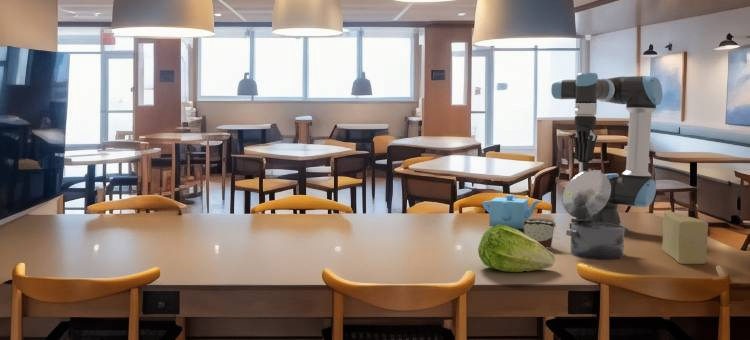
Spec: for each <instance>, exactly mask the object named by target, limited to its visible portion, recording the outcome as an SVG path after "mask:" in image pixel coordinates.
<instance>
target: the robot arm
mask: <svg viewBox="0 0 750 340" xmlns="http://www.w3.org/2000/svg"><path fill="white" fill-rule="evenodd" d="M550 88H551V90H550V92H551V96H552V98H554V99H555V100H575V101H574V103H575V106H574V109H575V110H574V114H575V116H574V126H575V127H577V128H576V132H575V133H572V138H573V143H574V144H573V145H574V146H573V147H574V157H575V160H576V161H577V162H578V174H580V173H582V172H584V171H588V170H589V163H590V162H591V161H593V158H594V152H595V148H596V142H597V139H598V135H597V134H594V127H596V125H597V117H596V115H597V113H598V112H597V108H598V107H597V101H599V102H601V103H603V102H605V103H611V104H618V105H626V107H625V108H626V110H627V111H628V112H629V116H628V117H629V118H628V119H629V120H628V133H627V134H628V135H627V147H626V150H627V151H626V165H625V170H624V171H623V172H622V173H621V177H620V175H619V173H603V174H604V175H605V176H606V177H607V178H608V179H609V181H610V184H611V194H610V197H609V200H608V202H607V203H606V205H605V206H604V207H603V209H602V210H600V211H599V212H598V213H597V214H595V215H593V216H591V217H588V218H592V219H593V221H592V222H602V223H611V224H617V225H620V226H622V222H621V218H620V215H619V212H618V207H619V206H627V207H635V208H647V207H649V206H651V204H652V203H653V202H654V199H655V196H656V192H657V183H656V180H654V179H652V174H651V173H650V172H649V160H650V159H649V158H650V144H651V132H652V131H651V130H652V129H651V128H652V117H653V116H652V115H653V112H655V111H656V110H657V106H658V105H660V104H661V103H662V100H663V86H662V84H661V81H660V80H659V78H657V77H656V76H651V75H641V76H640V75H639V76H638V75H637V76H616V77H610V78H601V79H600V78H598V73H597V72H578V73H576V79H562V78H561V79H556V80H554V81H553V82H552V84H551V86H550Z"/></svg>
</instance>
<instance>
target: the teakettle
mask: <svg viewBox="0 0 750 340" xmlns="http://www.w3.org/2000/svg"><path fill="white" fill-rule="evenodd" d="M541 202H542V200H534V201H533V202H531V204H530V206H529V198H517V195H514V194H505V197H500V196H499V197H497V196H496V197H494V198H493V199H491V200H486V201H483V202H482V206H483V208H484V210H486V211H487V212H488V213H489V227H494V226H496V225H499V224H501V225H506V226H509V227H511V228H514V229H516V230H522V229H523V230H524V225H522V223H523V221H524V219H530V218H531V217H532V216H533V214H534V211H535V208H536V206H537V205H538V204H539V203H541Z"/></svg>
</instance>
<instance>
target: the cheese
mask: <svg viewBox="0 0 750 340" xmlns="http://www.w3.org/2000/svg"><path fill="white" fill-rule="evenodd" d="M662 220H663V221H662V246H661V249H662V252H664V253H666V255H668V256H670V257H671V258H672V259H674V260H675V261H676V262H677V263H678V264H680V265H704V264H706V262H707V252H708V251H707V250H708V248H707V247H708V236H709V235H708V230H709V223H708V222H707V221H705V220H702V219H698V218H695V217H692V216H687V215H685V214H680V213H677V212H674V211H672V210H670V211H669V210H665V211H664V212H663V219H662Z"/></svg>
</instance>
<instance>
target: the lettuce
mask: <svg viewBox="0 0 750 340" xmlns="http://www.w3.org/2000/svg"><path fill="white" fill-rule="evenodd" d="M477 250H478V251H477V253H478V257H479V259H480V261H481V262H482V264H483V265H485V267H488V268H491V269H494V270H498V271H501V272H510V273H511V272H512V273H522V272H523V271H527V272H532V271H538V270H544V269H549V268H552V267H553V266H554V265H555V262H556V258H557V256H556V255H555V254H554V253H553V252H551V251H550V250H548V248H545V247H544V246H542V245H541V244H540V243H539V242H537V241H536V240H534V239H532V238H530V237H528V236H526V235H525V233H524V232H522V231H521V230H520V229H518V230H516V229H514V228H511V227H509V226H506V225H501V224H499V225H496V226H490V227H489V228H487V230H486V231H484V233H483V235H482V237H481V239H480V242H479V245H478V248H477ZM523 273H524V272H523Z"/></svg>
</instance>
